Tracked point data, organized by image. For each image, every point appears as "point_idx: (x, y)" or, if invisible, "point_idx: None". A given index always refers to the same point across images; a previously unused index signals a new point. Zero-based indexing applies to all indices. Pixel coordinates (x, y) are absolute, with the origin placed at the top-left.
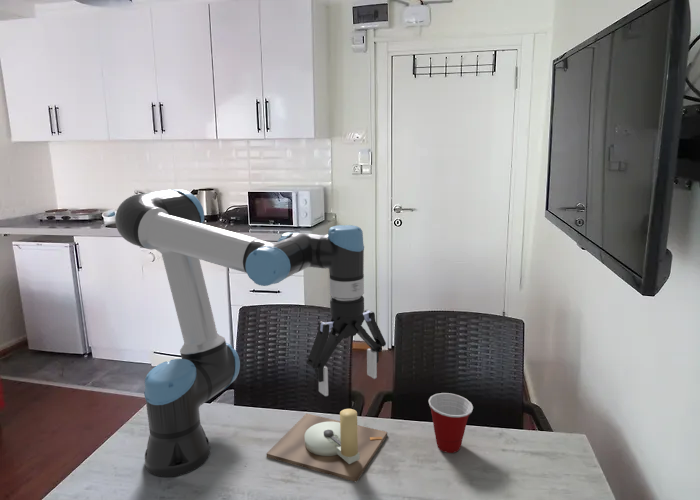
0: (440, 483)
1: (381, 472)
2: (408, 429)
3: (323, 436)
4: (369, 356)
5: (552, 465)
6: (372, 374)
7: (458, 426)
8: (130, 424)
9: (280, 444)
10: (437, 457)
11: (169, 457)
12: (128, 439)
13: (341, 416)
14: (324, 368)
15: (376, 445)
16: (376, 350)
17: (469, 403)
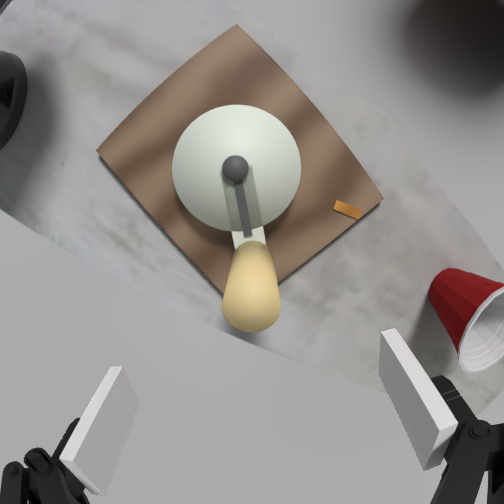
0: (365, 362)
1: (298, 303)
2: (428, 201)
3: (219, 171)
4: (418, 419)
5: (490, 372)
6: (384, 375)
7: (465, 347)
8: None
9: (130, 128)
10: (410, 307)
11: None
12: None
13: (223, 310)
14: (91, 491)
15: (334, 233)
16: (446, 466)
17: None
